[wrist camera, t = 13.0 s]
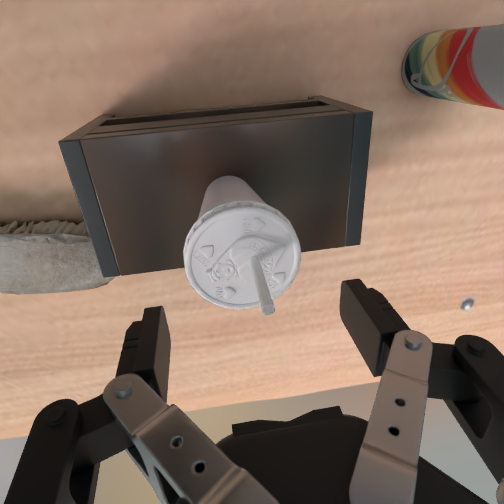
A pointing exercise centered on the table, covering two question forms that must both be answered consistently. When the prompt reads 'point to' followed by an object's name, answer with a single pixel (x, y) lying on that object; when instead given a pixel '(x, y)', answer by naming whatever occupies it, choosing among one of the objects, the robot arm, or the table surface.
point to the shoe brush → (47, 258)
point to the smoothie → (240, 248)
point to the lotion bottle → (458, 66)
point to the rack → (217, 175)
